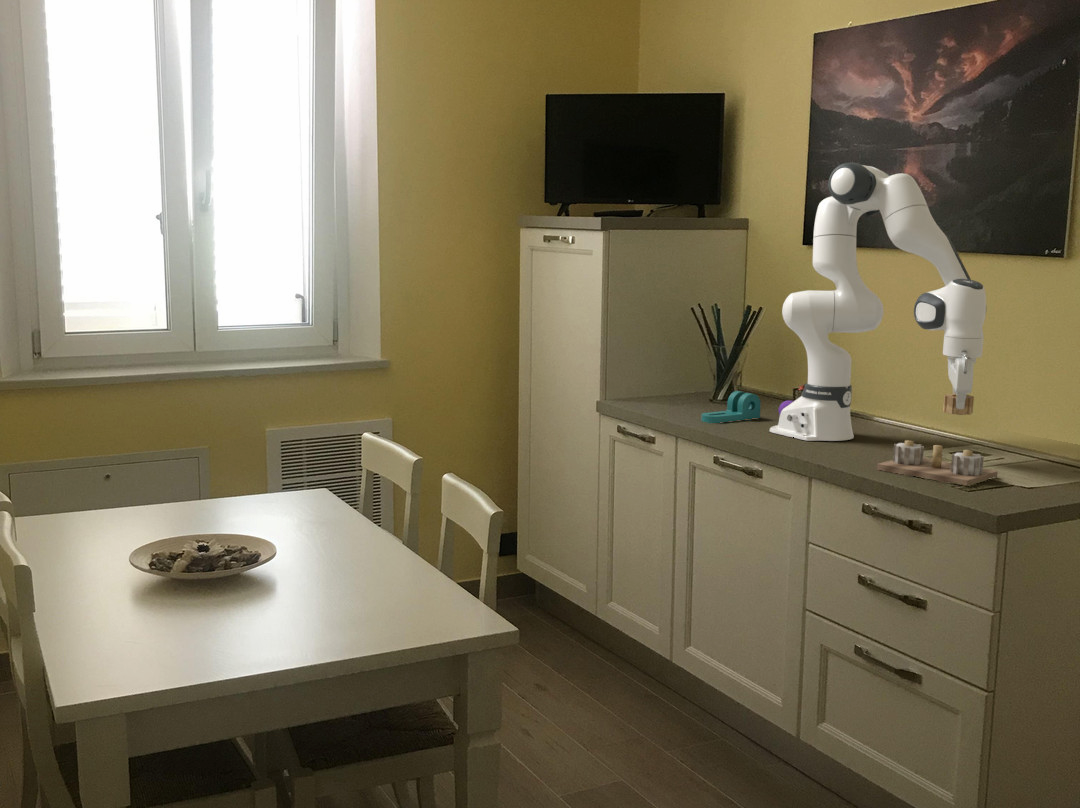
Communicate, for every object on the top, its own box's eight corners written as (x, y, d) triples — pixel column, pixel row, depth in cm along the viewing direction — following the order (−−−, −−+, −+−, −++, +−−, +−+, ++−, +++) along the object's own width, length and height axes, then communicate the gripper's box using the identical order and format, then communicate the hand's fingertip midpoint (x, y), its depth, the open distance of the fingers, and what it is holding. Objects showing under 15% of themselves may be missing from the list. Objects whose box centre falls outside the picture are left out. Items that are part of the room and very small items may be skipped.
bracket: (744, 416, 331) (745, 390, 329) (759, 419, 325) (760, 393, 324) (696, 421, 322) (697, 394, 320) (711, 425, 316) (712, 397, 315)
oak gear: (940, 409, 272) (941, 393, 271) (968, 410, 271) (970, 393, 270) (946, 414, 265) (947, 398, 265) (975, 415, 264) (976, 398, 264)
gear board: (876, 470, 259) (878, 442, 258) (908, 461, 268) (910, 435, 267) (967, 487, 243) (969, 457, 242) (997, 477, 252) (999, 449, 251)
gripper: (981, 355, 254) (976, 414, 257) (972, 343, 274) (968, 398, 276) (952, 353, 256) (947, 412, 259) (945, 342, 275) (941, 397, 278)
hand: (958, 405), depth 268 cm, fingers closed on oak gear, 7 cm apart
